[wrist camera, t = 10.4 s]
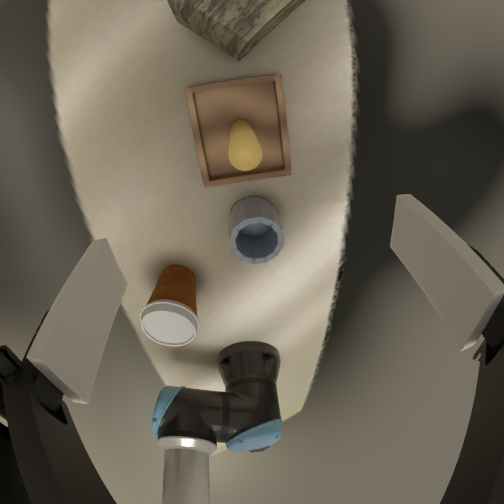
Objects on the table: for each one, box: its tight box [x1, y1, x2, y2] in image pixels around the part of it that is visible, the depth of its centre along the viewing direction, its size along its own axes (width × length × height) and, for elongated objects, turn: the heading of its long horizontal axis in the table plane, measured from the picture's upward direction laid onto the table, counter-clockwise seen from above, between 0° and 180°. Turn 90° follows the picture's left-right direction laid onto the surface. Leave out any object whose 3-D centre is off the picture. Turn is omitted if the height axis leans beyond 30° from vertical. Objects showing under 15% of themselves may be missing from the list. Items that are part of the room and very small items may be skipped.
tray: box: [185, 74, 291, 187], centre depth 34 cm, size 14×12×2 cm
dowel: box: [228, 119, 263, 171], centre depth 28 cm, size 3×3×15 cm
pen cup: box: [229, 196, 284, 264], centre depth 40 cm, size 7×7×7 cm
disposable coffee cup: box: [140, 266, 200, 347], centre depth 44 cm, size 10×10×12 cm
